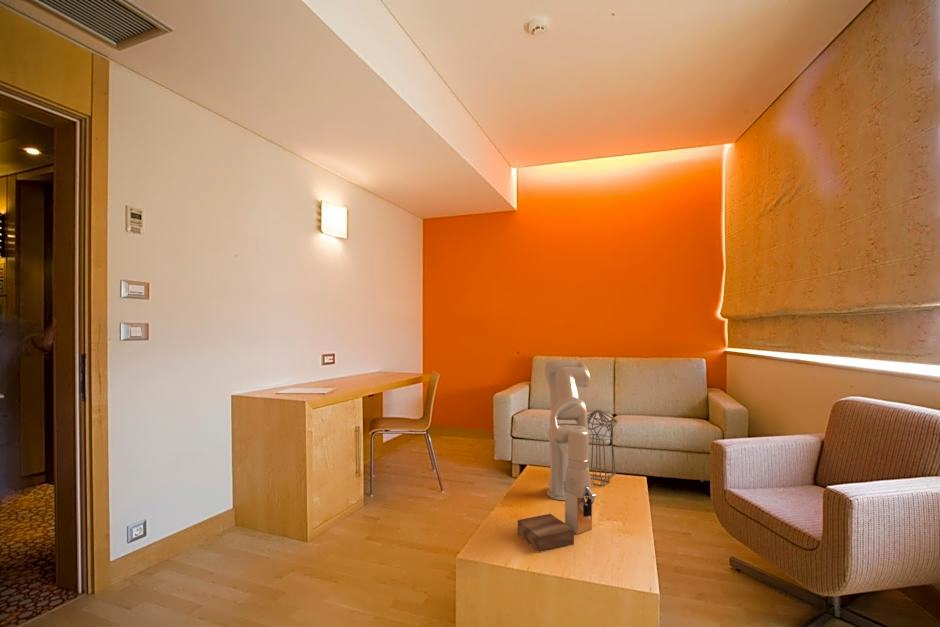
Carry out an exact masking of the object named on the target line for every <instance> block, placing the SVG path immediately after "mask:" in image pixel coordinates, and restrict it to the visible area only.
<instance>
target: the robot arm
mask: <svg viewBox="0 0 940 627" xmlns="http://www.w3.org/2000/svg"><path fill="white" fill-rule="evenodd" d="M544 376H545V380H546V382H547V385H548V387H549V395H550V396H549V398H550V399H549V400H550V401H549V402H550V403H549V405H550V417H549V427H548V430H547V431H548V432H547V433H548V434H547V435H548V441H549V451H550V457H549V458H550V481H547V485H548V486H549V489H548V490H547V491H546V495H547V496H548V497H549V498H551V499H553V500H558V501H565V493H566V492H569V493H571V494H573V495H574V496H576V497H578V498H579V499H582V500H583V502H584V504H585V505H583V516H584V517H587V516H591V515H592V516H593V511H592V512H591V505H592V506H593V504H594V502H595V499H596V494H595V492H594V491H593V490H592V480H591V479H590V478H591V477H590V476H591V475H590V474H591V473H590V469H589V468H590V465H589V464H590V462H589V460H590V457H589V449H590V448H589V438H588V437H589V436H588V435H589V429H588V428H589V427H588V421H587V420H588V419H587V418H588V416H587V415H588V410H587V406H586V403H585V401H584V400H583V399H580V396H579V390H578V388H587V387H589V386H590V384H591V374H590V371H589V369H588V367H587V365H586V364H585V363H584V362H583V361H582V360H579V359H578V360H577V359H572V360H571V359H552V360H549V361H547V362H546V363H545V364H544ZM558 421H574V422H576V423H567V422H566V423H565V422H564V423H563V422H562V423H559V422H558ZM585 495H586V496H585ZM585 498H587V499H588V500H587V501H586V499H585Z"/></svg>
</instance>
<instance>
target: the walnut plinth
mask: <svg viewBox="0 0 940 627" xmlns="http://www.w3.org/2000/svg"><path fill="white" fill-rule="evenodd" d="M517 535H518V536H519V537H520V536H521V537H522V538H521V537H520V538H521V539H523V540H524V541H525V540H526V541H527V542H528V543H527V542H526V541H525V542H526V543H527V544H528V545H530V544H531V545H532V546H533V547H534V548H533V547H532V546H531V545H530V546H531V547H532V548H533V549H534V550H536V551H537V552H538V551H539V552H538V553H541V551H543V552H547V551H552V550H555V548H556V549H559V548H565V547H569V546H572V545H575V533H574V529H573V528H571V527H570V526H568V525H567V524H565V521H564V522H563V521H562V520H561V519H559V518H557V517H556V516H555V515H554V514H552V513H548V514H547V513H545V514H542V515H537V516H532V517H526V518H521V519H517ZM546 550H547V551H546Z"/></svg>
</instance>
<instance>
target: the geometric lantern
mask: <svg viewBox="0 0 940 627" xmlns="http://www.w3.org/2000/svg"><path fill="white" fill-rule="evenodd" d="M597 414H598V416H599V418H598V417H596V416H597ZM609 418H610V419H609ZM592 419H593V420H592ZM591 420H592V422H591ZM595 421H596V422H597V423H594V422H595ZM587 422H588V430H590V431H591V434H588V439H591V440H592V442H591V460H590V461H591V463H590V467H589V470H591V471H592V474H591V473H590V479H591V481H599V482H600V483H601V484H598V483H593V482H592V483H593V484H592V485H596V486H600V487H605V486H606V485H608V484H610V483H611V482H610V481H611V480H610V479H612V478H613V477H614V476H616V474H617V472H616V461H615V453H614V452H615V451H614V449H615V448H614V440H613V439H614V427H615V426H616V425H617V424H618V423H619V422H620V421H619V420H618V419H616V418H614V417H613V416H612V415H609V414H608V413H606V412H604V411H603V410H601V409H595V410H594V411H592V412H590V413H587ZM590 424H591V427H592V428H591V427H590ZM595 425H596V426H595ZM594 426H595V427H594ZM611 426H612V427H611ZM599 427H600V428H599ZM603 427H605V428H606V429H607V430H606V431H605V433H604V434H600V432H601V430H602V428H603ZM598 428H599V430H598V432H597V431H596V429H598ZM592 430H593V431H592ZM610 431H611V432H610ZM607 432H608V434H609V435H606V434H607ZM589 436H592V437H589ZM600 436H602V438H600ZM594 437H596V438H594ZM605 437H608V438H605ZM604 438H605V439H604ZM594 440H595V442H596V443H595V444H596V446H595V447H596V448H595V449H596V451H595V452H596V454H595V456H596V457H595V467H593V461H594V459H593V456H594ZM608 440H611V442H610V443H611V466H612V467H611V468H612V470H608V469H607V466H606V464H607V462H606V450H605V449H606V448H605V441H608ZM601 441H602V447H603V448H602V449H603V450H602V451H603V461H604V463H603V464H604V468H601V467H602V465H601V462H602V461H601ZM598 451H599V452H598ZM598 454H599V457H598ZM598 460H599V461H598ZM598 466H599V467H598ZM593 469H594V470H595V473H594V470H593ZM597 471H599V474H597V473H598V472H597ZM602 471H604V475H602ZM608 472H609V473H610V474H608V475H607V473H608ZM592 479H593V480H592ZM604 482H606V483H604ZM603 483H604V484H603Z"/></svg>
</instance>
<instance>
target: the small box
mask: <svg viewBox="0 0 940 627" xmlns="http://www.w3.org/2000/svg"><path fill="white" fill-rule="evenodd" d="M585 496H586V495H585ZM585 499H586V501H587V500H588V499H587V498H585ZM583 505H585V504H584V502H583V500H582V499H579V498H578V497H576V496H574V495H573V494H571V493H569V492H566V493H565V500H564V523H565V524H567V525H568V526H570V527H571V528H573V529H574V534H576V535H579V534H581V533H584V532H587V531H591V530H593V514H592V515H591V516H587V517H584V516H583ZM591 512H592V513H593V504H592V505H591Z"/></svg>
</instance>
